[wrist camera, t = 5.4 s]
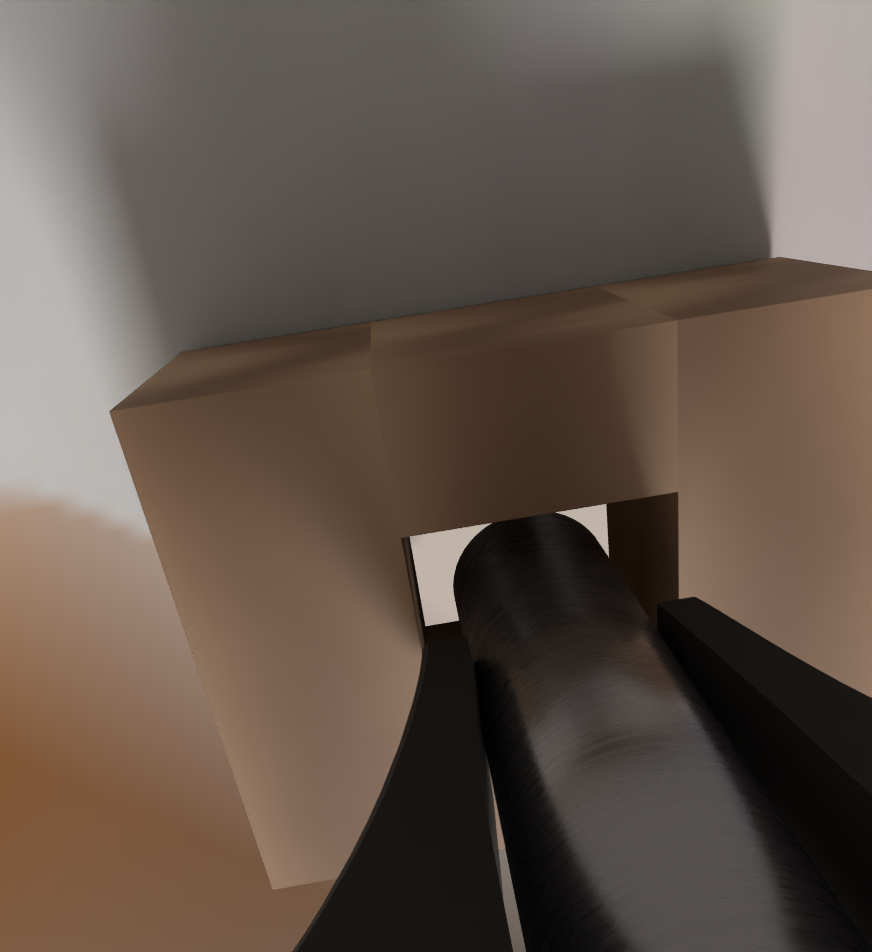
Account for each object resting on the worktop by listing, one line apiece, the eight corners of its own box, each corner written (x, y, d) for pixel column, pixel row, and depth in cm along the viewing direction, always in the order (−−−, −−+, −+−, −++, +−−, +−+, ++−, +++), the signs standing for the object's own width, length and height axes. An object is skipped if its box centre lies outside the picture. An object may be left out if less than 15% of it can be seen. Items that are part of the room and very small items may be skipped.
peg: (604, 499, 13) (1037, 1049, 4) (609, 635, 14) (962, 1281, 6) (444, 523, 13) (578, 1130, 4) (462, 657, 14) (594, 1349, 5)
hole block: (779, 257, 14) (929, 280, 10) (759, 661, 18) (862, 785, 14) (182, 351, 13) (109, 411, 10) (294, 741, 17) (273, 889, 14)
